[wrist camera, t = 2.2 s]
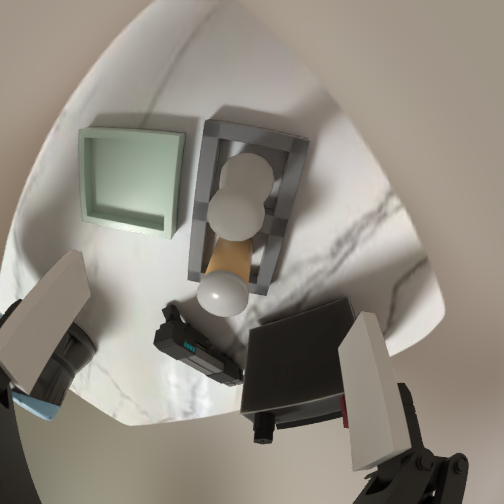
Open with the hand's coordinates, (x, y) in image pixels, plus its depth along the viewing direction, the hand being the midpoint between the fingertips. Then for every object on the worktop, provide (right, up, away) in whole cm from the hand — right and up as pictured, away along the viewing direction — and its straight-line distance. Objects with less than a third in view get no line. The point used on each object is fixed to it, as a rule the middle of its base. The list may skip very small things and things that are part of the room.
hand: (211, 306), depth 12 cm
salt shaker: (+1, +11, +19) cm, 22 cm away
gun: (-6, -14, +35) cm, 38 cm away
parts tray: (-14, +12, +20) cm, 27 cm away
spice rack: (0, +7, +21) cm, 23 cm away
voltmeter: (+12, -12, +33) cm, 37 cm away
